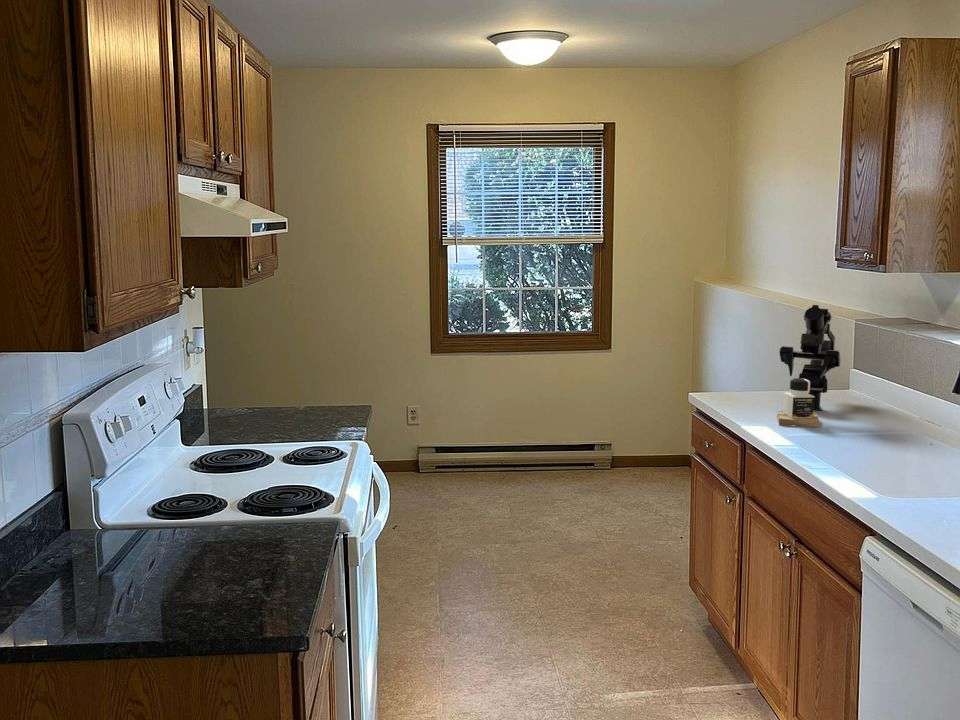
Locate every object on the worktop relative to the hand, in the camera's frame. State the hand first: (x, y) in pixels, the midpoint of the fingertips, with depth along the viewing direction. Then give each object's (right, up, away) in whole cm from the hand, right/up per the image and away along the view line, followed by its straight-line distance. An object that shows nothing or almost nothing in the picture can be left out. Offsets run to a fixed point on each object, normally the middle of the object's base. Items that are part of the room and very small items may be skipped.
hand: (805, 376), depth 311 cm
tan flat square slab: (-4, -14, -5) cm, 16 cm away
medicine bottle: (-4, -13, -5) cm, 14 cm away
